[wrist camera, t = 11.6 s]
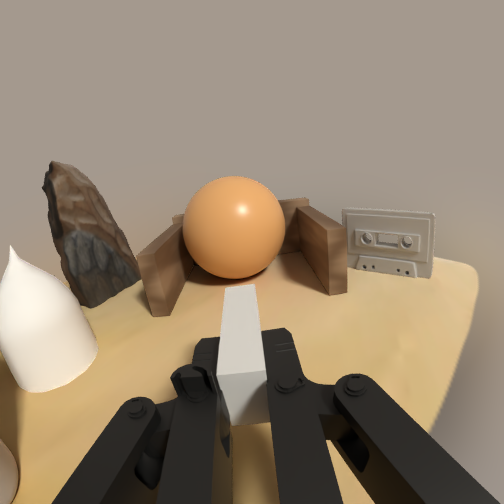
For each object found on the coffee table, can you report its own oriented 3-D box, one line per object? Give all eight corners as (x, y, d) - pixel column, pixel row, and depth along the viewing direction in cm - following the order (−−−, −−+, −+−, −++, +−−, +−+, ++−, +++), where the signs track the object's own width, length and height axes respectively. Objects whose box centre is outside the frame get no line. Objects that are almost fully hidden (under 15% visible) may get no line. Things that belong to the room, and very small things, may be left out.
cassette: (341, 268, 35) (339, 209, 32) (347, 263, 36) (345, 206, 34) (430, 280, 27) (435, 215, 24) (432, 274, 28) (436, 212, 26)
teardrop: (82, 322, 28) (52, 226, 24) (115, 359, 21) (70, 228, 17) (11, 355, 20) (-28, 257, 17) (20, 408, 13) (-47, 275, 10)
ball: (154, 198, 28) (182, 191, 40) (193, 307, 31) (208, 270, 43) (274, 161, 27) (266, 165, 39) (304, 278, 30) (288, 247, 43)
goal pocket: (153, 316, 28) (133, 246, 26) (184, 261, 46) (175, 215, 43) (347, 292, 28) (345, 217, 26) (309, 245, 46) (305, 197, 43)
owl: (88, 314, 30) (51, 156, 24) (49, 302, 35) (19, 179, 29) (147, 276, 41) (122, 148, 35) (100, 273, 46) (78, 167, 40)
